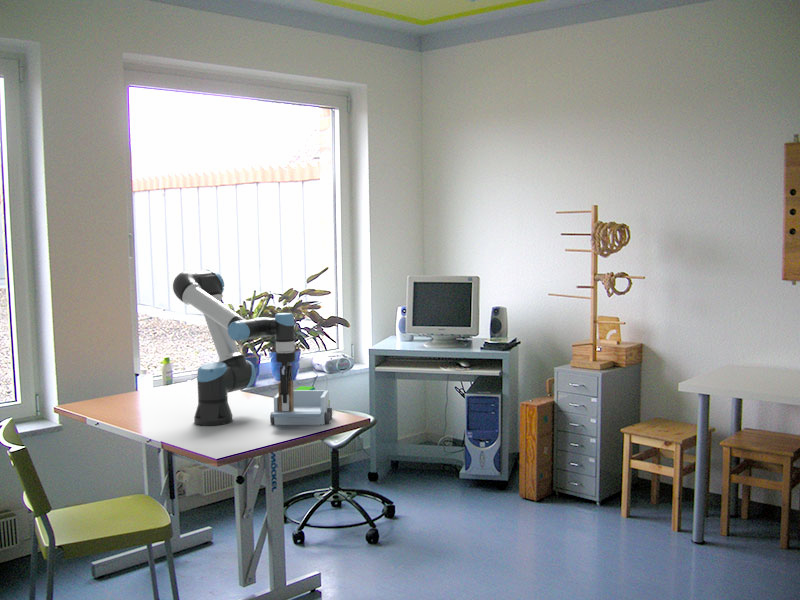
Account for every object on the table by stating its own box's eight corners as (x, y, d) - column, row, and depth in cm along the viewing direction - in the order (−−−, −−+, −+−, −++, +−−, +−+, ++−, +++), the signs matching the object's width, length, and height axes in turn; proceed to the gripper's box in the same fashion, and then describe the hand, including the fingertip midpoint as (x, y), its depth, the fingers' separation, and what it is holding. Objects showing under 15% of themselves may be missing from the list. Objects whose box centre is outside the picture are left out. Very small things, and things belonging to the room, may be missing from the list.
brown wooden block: (278, 412, 305) (278, 382, 304) (281, 409, 310) (280, 380, 309) (291, 412, 305) (290, 382, 304) (293, 409, 309) (293, 380, 309)
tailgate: (274, 415, 304) (270, 418, 296) (274, 411, 304) (270, 414, 296) (322, 415, 304) (319, 418, 296) (322, 411, 304) (319, 414, 296)
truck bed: (270, 424, 306) (269, 397, 305) (277, 416, 320) (276, 390, 319) (328, 424, 305) (328, 397, 304) (332, 416, 319) (332, 390, 319)
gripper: (290, 354, 296) (292, 414, 298) (298, 348, 315) (300, 404, 316) (271, 354, 297) (273, 414, 298) (280, 349, 315) (282, 404, 317)
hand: (287, 409), depth 307 cm, fingers closed on brown wooden block, 5 cm apart
